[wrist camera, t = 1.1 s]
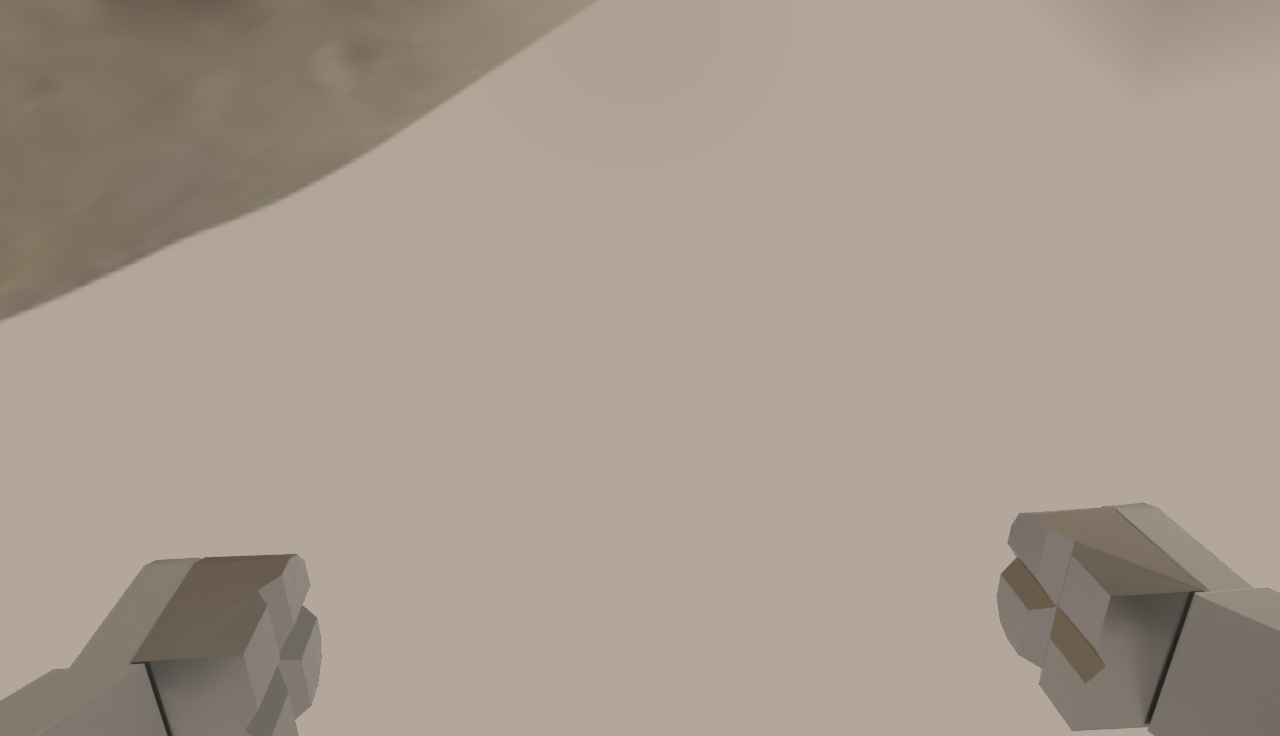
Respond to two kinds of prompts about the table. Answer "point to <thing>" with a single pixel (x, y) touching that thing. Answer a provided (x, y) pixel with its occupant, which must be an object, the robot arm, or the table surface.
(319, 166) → the table surface
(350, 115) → the table surface
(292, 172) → the table surface
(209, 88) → the table surface
